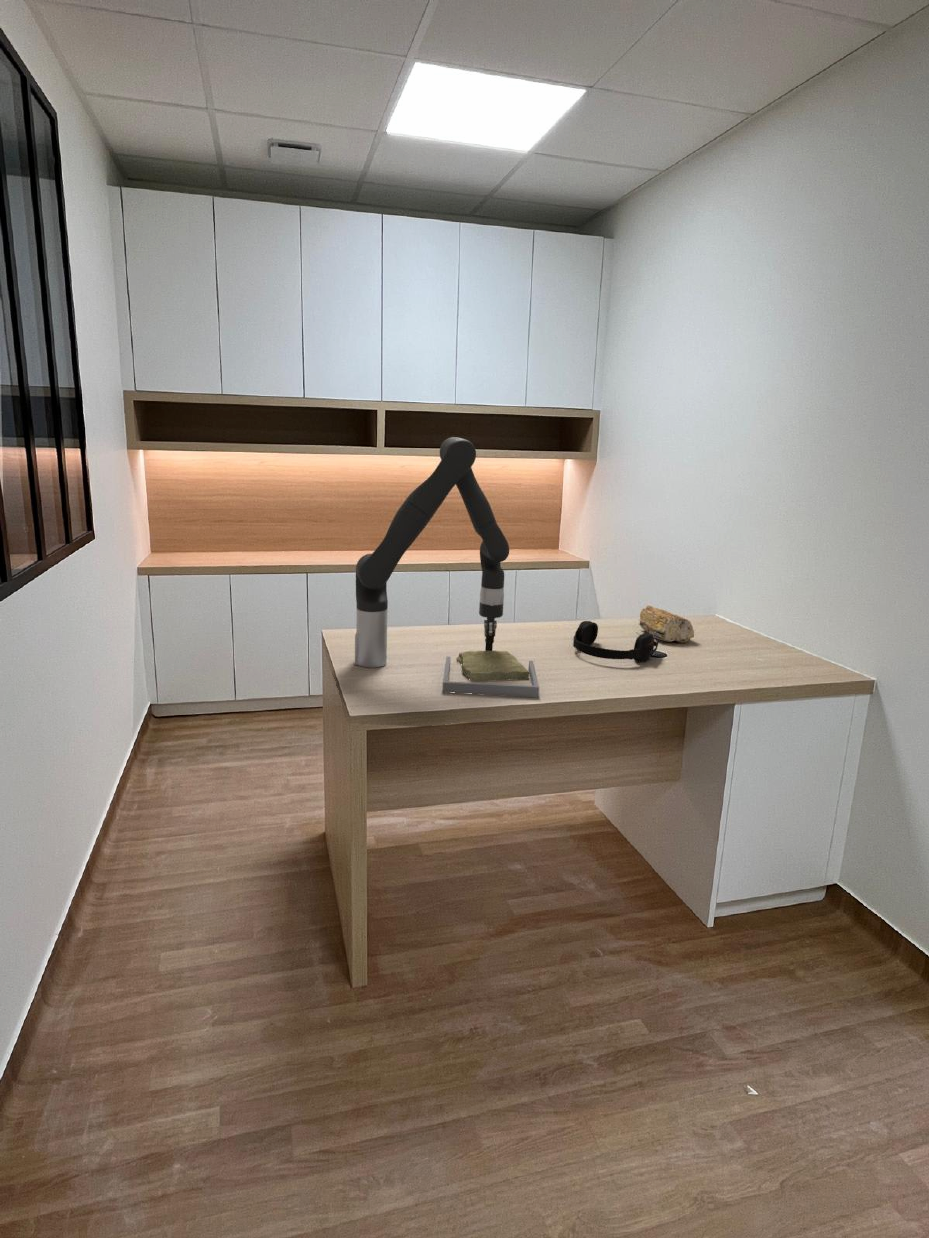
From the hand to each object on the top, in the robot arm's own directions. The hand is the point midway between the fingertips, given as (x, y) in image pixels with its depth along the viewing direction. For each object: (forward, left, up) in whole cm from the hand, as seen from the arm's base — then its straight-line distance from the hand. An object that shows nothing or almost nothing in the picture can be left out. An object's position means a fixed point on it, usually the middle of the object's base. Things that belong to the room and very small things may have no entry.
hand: (488, 653), depth 236 cm
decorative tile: (0, -12, -2) cm, 12 cm away
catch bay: (0, -22, -1) cm, 22 cm away
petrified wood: (+64, +35, -2) cm, 73 cm away
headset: (+43, +11, -2) cm, 44 cm away
